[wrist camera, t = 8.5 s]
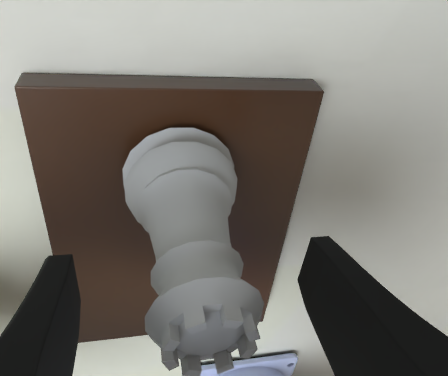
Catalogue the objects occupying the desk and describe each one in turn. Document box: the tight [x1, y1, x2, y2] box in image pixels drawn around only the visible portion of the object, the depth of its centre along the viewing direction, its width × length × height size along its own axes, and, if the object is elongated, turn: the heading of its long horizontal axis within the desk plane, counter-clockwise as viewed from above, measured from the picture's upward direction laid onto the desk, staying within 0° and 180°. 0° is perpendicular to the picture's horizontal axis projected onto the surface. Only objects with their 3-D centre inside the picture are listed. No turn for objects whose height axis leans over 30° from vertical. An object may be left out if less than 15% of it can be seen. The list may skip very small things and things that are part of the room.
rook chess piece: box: [122, 128, 264, 376], centre depth 13 cm, size 4×4×8 cm
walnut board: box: [15, 73, 324, 343], centre depth 19 cm, size 15×11×1 cm
